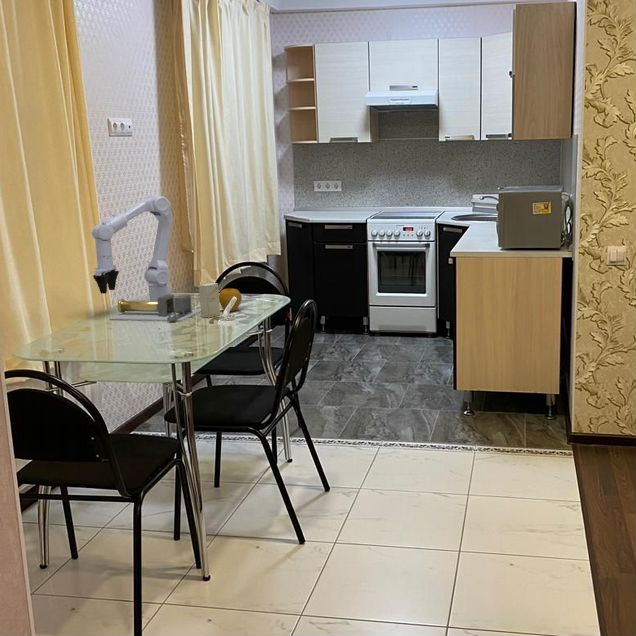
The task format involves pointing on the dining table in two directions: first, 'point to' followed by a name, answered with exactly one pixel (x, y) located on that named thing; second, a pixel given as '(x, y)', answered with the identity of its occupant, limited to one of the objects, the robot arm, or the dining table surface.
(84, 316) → the dining table surface
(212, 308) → the skincare box
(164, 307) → the chain end
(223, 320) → the white lever switch
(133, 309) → the pin
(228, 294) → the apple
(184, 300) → the chain end
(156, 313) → the mat
